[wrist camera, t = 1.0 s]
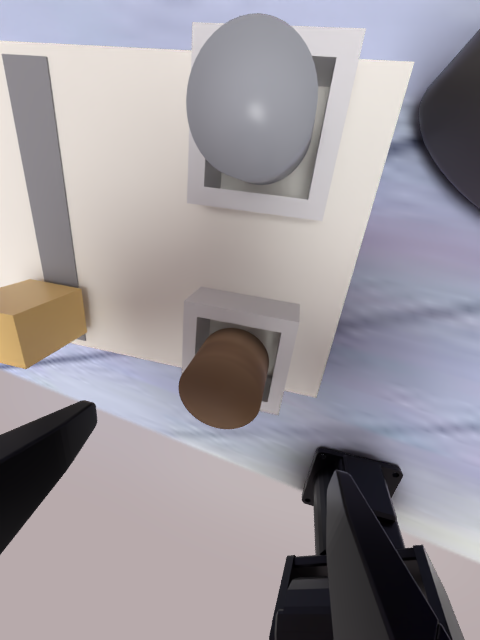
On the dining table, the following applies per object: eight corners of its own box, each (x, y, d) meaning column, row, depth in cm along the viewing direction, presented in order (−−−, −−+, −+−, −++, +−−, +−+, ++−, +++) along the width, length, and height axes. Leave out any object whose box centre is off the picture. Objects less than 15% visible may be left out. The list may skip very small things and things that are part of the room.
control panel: (314, 370, 20) (318, 428, 15) (45, 314, 23) (-26, 345, 18) (390, 91, 13) (446, 22, 8) (-4, 65, 16) (-140, 4, 11)
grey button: (301, 190, 11) (302, 185, 8) (212, 179, 11) (183, 171, 8) (324, 71, 9) (334, 15, 6) (220, 65, 10) (188, 11, 7)
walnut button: (263, 394, 15) (254, 437, 12) (199, 379, 15) (177, 418, 13) (274, 335, 13) (267, 369, 11) (203, 321, 14) (179, 350, 11)
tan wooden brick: (87, 332, 18) (26, 369, 14) (39, 322, 18) (-33, 354, 14) (81, 288, 17) (12, 315, 13) (30, 278, 17) (-51, 301, 13)
